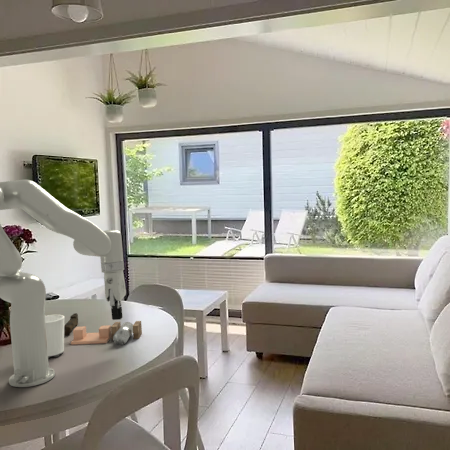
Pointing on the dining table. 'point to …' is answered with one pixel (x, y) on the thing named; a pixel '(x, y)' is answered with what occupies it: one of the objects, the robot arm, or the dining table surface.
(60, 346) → the cup
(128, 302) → the dining table surface
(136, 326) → the channel block
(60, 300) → the dining table surface
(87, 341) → the cradle
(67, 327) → the hand tool
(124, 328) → the axle
